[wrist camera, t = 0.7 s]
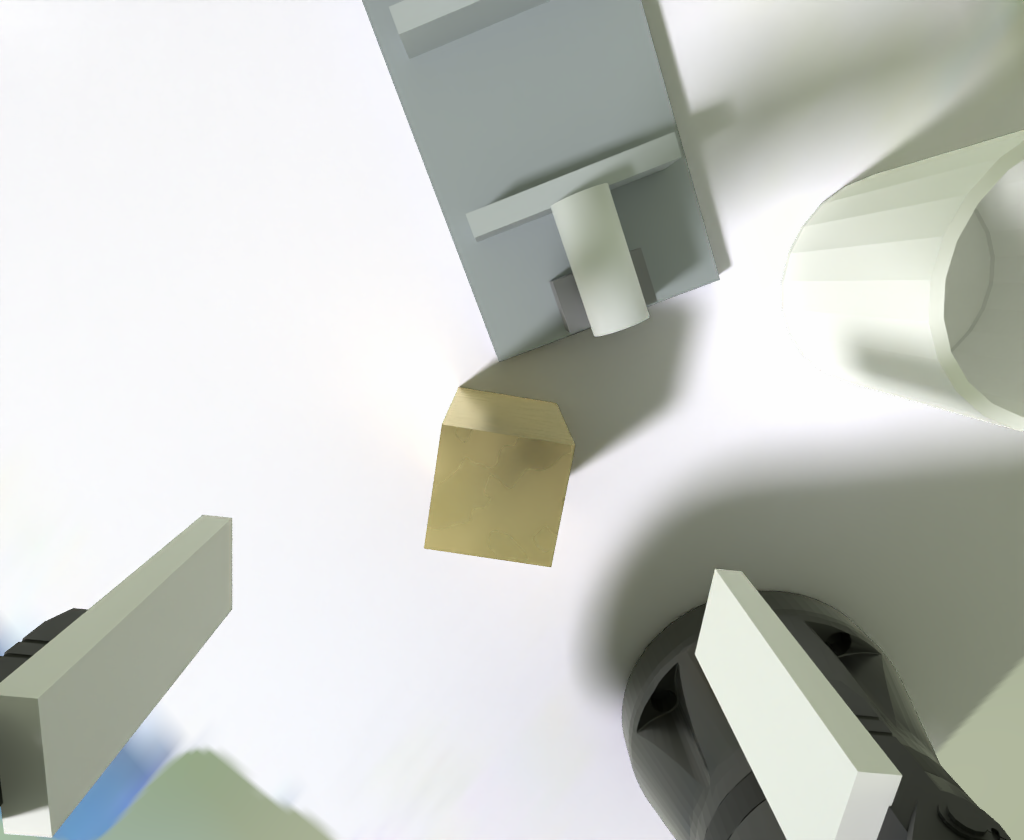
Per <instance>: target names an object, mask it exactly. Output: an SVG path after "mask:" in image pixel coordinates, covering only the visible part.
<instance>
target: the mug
mask: <svg viewBox="0 0 1024 840" xmlns="http://www.w3.org/2000/svg"><path fill="white" fill-rule="evenodd" d="M781 294H782V312H783V315H784V318H785V322H786V325H787V329H788V332H789V335H790V336H791V338H792V340H793V341H794V343H795V344H796V346H797V347H798V349H799V350H800V352H801V354H802V355H803V356H804V357H805V358H806V359H807V360H809V361H810V362H811V363H812V364H813V365H814V366H816V367H817V368H818V369H819V370H820V371H821V372H824V373H826V374H828V375H830V376H833V377H835V378H837V379H839V380H842V381H844V382H847V383H851V384H854V385H858V386H861V387H865V388H868V389H872V390H875V391H879V392H882V393H886V394H889V395H893V396H897V397H900V398H904V399H907V400H911V401H914V402H918V403H921V404H925V405H928V406H932V407H935V408H939V409H942V410H946V411H949V412H953V413H956V414H960V415H964V416H967V417H971V418H974V419H978V420H981V421H985V422H988V423H992V424H995V425H999V426H1002V427H1006V428H1009V429H1013V430H1017V431H1024V130H1021V131H1017V132H1014V133H1011V134H1007V135H1004V136H1001V137H997V138H994V139H991V140H987V141H984V142H981V143H977V144H974V145H971V146H967V147H964V148H961V149H957V150H954V151H951V152H947V153H944V154H941V155H937V156H934V157H931V158H927V159H924V160H921V161H917V162H914V163H911V164H907V165H904V166H901V167H897V168H894V169H891V170H887V171H884V172H881V173H877V174H874V175H871V176H869V177H867V178H864V179H862V180H859V181H857V182H854V183H852V184H849V185H847V186H845V187H844V188H842V189H841V190H839V191H838V192H837V193H835V194H834V195H833V196H831V197H830V198H829V199H827V200H826V201H825V202H823V203H822V204H821V205H820V206H819V207H818V208H817V209H816V211H815V212H814V213H813V214H812V215H811V216H810V218H809V219H808V220H807V221H806V222H805V224H804V225H803V226H802V227H801V229H800V231H799V233H798V235H797V237H796V239H795V241H794V243H793V245H792V247H791V249H790V251H789V253H788V256H787V260H786V264H785V268H784V272H783V277H782V281H781Z"/></svg>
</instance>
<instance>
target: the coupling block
mask: <svg viewBox="0 0 1024 840" xmlns="http://www.w3.org/2000/svg"><path fill="white" fill-rule="evenodd" d="M574 450H575V444H574V441H573V439H572V437H571V435H570V432H569V430H568V428H567V426H566V423H565V421H564V419H563V417H562V414H561V412H560V410H559V408H558V405H557V403H553V402H547V401H541V400H535V399H529V398H523V397H516V396H510V395H504V394H498V393H492V392H486V391H480V390H474V389H467V388H461V387H458V390H457V392H456V394H455V396H454V399H453V401H452V403H451V405H450V408H449V410H448V412H447V414H446V416H445V419H444V421H443V423H442V428H441V435H440V441H439V448H438V455H437V462H436V469H435V476H434V483H433V490H432V497H431V504H430V511H429V517H428V524H427V531H426V538H425V545H424V548H425V549H432V550H438V551H445V552H452V553H459V554H465V555H472V556H479V557H486V558H492V559H499V560H506V561H512V562H519V563H526V564H533V565H539V566H546V567H551V565H552V560H553V555H554V550H555V545H556V540H557V535H558V530H559V525H560V520H561V515H562V510H563V505H564V500H565V495H566V490H567V485H568V480H569V475H570V470H571V465H572V460H573V455H574Z"/></svg>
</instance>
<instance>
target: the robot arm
mask: <svg viewBox="0 0 1024 840" xmlns="http://www.w3.org/2000/svg"><path fill="white" fill-rule="evenodd" d="M231 610H232V518H228V517H218V516H208V515H202V516H201V517H200V518H198V519H197V520H196V521H195V522H194V523H192V524H191V525H190V526H189V527H188V528H186V529H185V530H184V531H183V532H181V533H180V534H179V535H178V536H177V537H175V538H174V539H173V540H172V541H171V542H169V543H168V544H167V545H166V546H165V547H163V548H162V549H161V550H160V551H159V552H157V553H156V554H155V555H154V556H153V557H151V558H150V559H149V560H148V561H146V562H145V563H144V564H143V565H142V566H140V567H139V568H138V569H137V570H136V571H134V572H133V573H132V574H131V575H130V576H128V577H127V578H126V579H125V580H124V581H122V582H121V583H120V584H119V585H118V586H116V587H115V588H114V589H113V590H111V591H110V592H109V593H108V594H107V595H105V596H104V597H103V598H102V599H101V600H99V601H98V602H97V603H96V604H95V605H93V606H92V607H91V608H90V609H89V610H86V609H76V608H73V609H71V610H68V611H66V612H64V613H62V614H60V615H58V616H56V617H54V618H51V619H49V620H47V621H45V622H44V623H42V624H41V625H40V626H38V627H37V628H36V629H35V630H33V631H32V632H31V633H29V634H28V635H27V636H26V637H24V638H23V640H22V642H18V643H16V644H15V645H14V646H13V647H11V648H10V649H9V650H7V651H6V652H5V654H4V656H0V806H1V811H2V819H3V827H4V833H5V834H15V835H27V836H40V837H53V835H54V834H55V833H56V832H57V830H58V829H59V828H60V827H61V825H62V824H63V823H64V821H65V820H66V819H67V818H68V816H69V815H70V814H71V813H72V811H73V810H74V809H75V808H76V806H77V805H78V804H79V802H80V801H81V800H82V799H83V797H84V796H85V795H86V794H87V792H88V791H89V790H90V789H91V787H92V786H93V785H94V783H95V782H96V781H97V780H98V778H99V777H100V776H101V775H102V773H103V772H104V771H105V770H106V768H107V767H108V766H109V764H110V763H111V762H112V761H113V759H114V758H115V757H116V756H117V754H118V753H119V752H120V751H121V749H122V748H123V747H124V745H125V744H126V743H127V742H128V740H129V739H130V738H131V737H132V735H133V734H134V733H135V732H136V730H137V729H138V728H139V726H140V725H141V724H142V723H143V721H144V720H145V719H146V718H147V716H148V715H149V714H150V713H151V711H152V710H153V709H154V707H155V706H156V705H157V704H158V702H159V701H160V700H161V699H162V697H163V696H164V695H165V694H166V692H167V691H168V690H169V688H170V687H171V686H172V685H173V683H174V682H175V681H176V680H177V678H178V677H179V676H180V675H181V673H182V672H183V671H184V669H185V668H186V667H187V666H188V664H189V663H190V662H191V661H192V659H193V658H194V657H195V656H196V654H197V653H198V652H199V650H200V649H201V648H202V647H203V645H204V644H205V643H206V642H207V640H208V639H209V638H210V637H211V635H212V634H213V633H214V631H215V630H216V629H217V628H218V626H219V625H220V624H221V623H222V621H223V620H224V619H225V617H226V616H227V615H228V614H229V612H230V611H231ZM622 727H623V733H624V738H625V742H626V746H627V750H628V753H629V757H630V761H631V764H632V768H633V771H634V774H635V777H636V779H637V781H638V783H639V785H640V788H641V790H642V791H643V793H644V795H645V797H646V798H647V800H648V801H649V803H650V804H651V806H652V807H653V808H654V810H655V811H656V812H657V814H658V815H659V817H660V818H661V819H662V821H663V822H664V824H665V825H666V826H667V828H668V829H669V831H670V832H671V833H672V835H673V836H674V838H675V839H676V840H1011V839H1010V837H1009V836H1008V835H1007V834H1006V832H1005V831H1004V830H1003V828H1002V827H1001V826H1000V825H999V824H998V823H997V822H996V821H995V820H994V819H993V818H991V817H990V816H989V815H988V814H987V813H986V812H985V811H983V810H982V809H980V808H979V807H978V806H977V805H976V804H975V803H974V802H973V801H972V800H971V798H970V797H969V796H968V795H967V794H966V793H965V792H964V791H963V790H962V788H961V787H960V786H959V785H958V784H957V783H956V782H955V781H954V780H953V779H952V778H951V776H950V775H949V774H948V773H947V772H946V771H945V770H944V769H943V767H942V766H941V765H940V763H939V761H938V759H937V757H936V754H935V752H934V750H933V748H932V746H931V744H930V741H929V739H928V737H927V735H926V733H925V731H924V728H923V726H922V724H921V722H920V720H919V718H918V715H917V713H916V711H915V709H914V707H913V705H912V702H911V700H910V698H909V696H908V694H907V692H906V689H905V687H904V685H903V683H902V681H901V679H900V677H899V675H898V673H897V671H896V670H895V668H894V666H893V665H892V663H891V662H890V661H889V659H888V658H887V657H886V655H885V654H884V653H883V651H882V650H881V649H880V648H879V647H878V646H877V645H876V644H875V643H874V642H873V641H872V640H871V639H870V638H869V637H868V636H867V635H866V634H865V633H864V632H863V631H862V630H861V629H860V628H859V627H858V626H857V625H856V624H854V623H853V622H852V621H851V620H850V619H849V618H848V617H846V616H845V615H844V614H842V613H841V612H839V611H838V610H836V609H834V608H833V607H831V606H829V605H827V604H825V603H822V602H820V601H818V600H815V599H812V598H809V597H806V596H802V595H798V594H793V593H787V592H777V591H757V590H756V589H755V587H754V586H753V585H752V583H751V582H750V581H749V580H748V578H747V577H746V576H745V575H744V573H743V572H742V571H734V570H724V569H715V571H714V575H713V579H712V583H711V588H710V592H709V596H708V600H707V603H706V604H704V605H702V606H700V607H697V608H696V609H694V610H692V611H690V612H688V613H687V614H685V615H683V616H682V617H680V618H679V619H677V620H676V621H674V622H673V623H672V624H670V625H669V626H668V627H667V628H666V629H664V630H663V631H662V632H661V633H660V634H659V635H658V636H657V637H656V638H655V639H654V640H653V641H652V642H651V644H650V645H649V646H648V647H647V649H646V650H645V651H644V653H643V654H642V655H641V657H640V658H639V660H638V662H637V664H636V665H635V667H634V669H633V671H632V673H631V675H630V678H629V681H628V683H627V687H626V690H625V694H624V699H623V706H622Z"/></svg>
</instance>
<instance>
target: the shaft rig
mask: <svg viewBox="0 0 1024 840" xmlns="http://www.w3.org/2000/svg"><path fill="white" fill-rule="evenodd" d="M362 2H363V4H364V7H365V9H366V12H367V15H368V17H369V20H370V23H371V25H372V28H373V31H374V33H375V36H376V38H377V41H378V44H379V46H380V49H381V52H382V54H383V57H384V60H385V62H386V65H387V67H388V70H389V73H390V75H391V78H392V81H393V83H394V86H395V89H396V91H397V94H398V96H399V99H400V102H401V104H402V107H403V110H404V112H405V115H406V117H407V120H408V123H409V125H410V128H411V131H412V133H413V136H414V139H415V141H416V144H417V146H418V149H419V152H420V154H421V157H422V160H423V162H424V165H425V168H426V170H427V173H428V175H429V178H430V181H431V183H432V186H433V189H434V191H435V194H436V197H437V199H438V202H439V204H440V207H441V210H442V212H443V215H444V218H445V220H446V223H447V226H448V228H449V231H450V233H451V236H452V239H453V241H454V244H455V247H456V249H457V252H458V255H459V257H460V260H461V262H462V265H463V268H464V270H465V273H466V276H467V278H468V281H469V283H470V286H471V289H472V291H473V294H474V297H475V299H476V302H477V305H478V307H479V310H480V312H481V315H482V318H483V320H484V323H485V326H486V328H487V331H488V334H489V336H490V339H491V341H492V344H493V347H494V349H495V352H496V355H497V357H498V360H499V362H501V361H504V360H506V359H509V358H512V357H514V356H517V355H520V354H522V353H525V352H528V351H530V350H533V349H536V348H538V347H541V346H544V345H546V344H549V343H552V342H554V341H557V340H560V339H562V338H565V337H568V336H570V335H573V334H576V333H578V332H581V331H584V330H586V329H589V328H592V331H593V334H594V336H603V335H607V334H611V333H614V332H617V331H620V330H623V329H626V328H629V327H631V326H634V325H636V324H639V323H641V322H643V321H645V320H646V319H648V318H649V317H650V316H649V313H648V310H647V307H648V306H651V305H653V304H656V303H659V302H661V301H664V300H667V299H669V298H672V297H675V296H677V295H680V294H683V293H685V292H688V291H691V290H693V289H696V288H699V287H701V286H704V285H707V284H709V283H712V282H715V281H717V280H720V278H719V275H718V271H717V267H716V264H715V260H714V257H713V253H712V250H711V246H710V243H709V239H708V235H707V232H706V228H705V225H704V221H703V218H702V214H701V211H700V207H699V204H698V200H697V196H696V193H695V189H694V186H693V182H692V179H691V175H690V172H689V168H688V164H687V161H686V157H685V154H684V150H683V147H682V143H681V140H680V136H679V133H678V129H677V125H676V122H675V118H674V115H673V111H672V108H671V104H670V101H669V97H668V93H667V90H666V86H665V83H664V79H663V76H662V72H661V69H660V65H659V62H658V58H657V54H656V51H655V47H654V44H653V40H652V37H651V33H650V30H649V26H648V22H647V19H646V15H645V12H644V8H643V5H642V1H641V0H362Z"/></svg>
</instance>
